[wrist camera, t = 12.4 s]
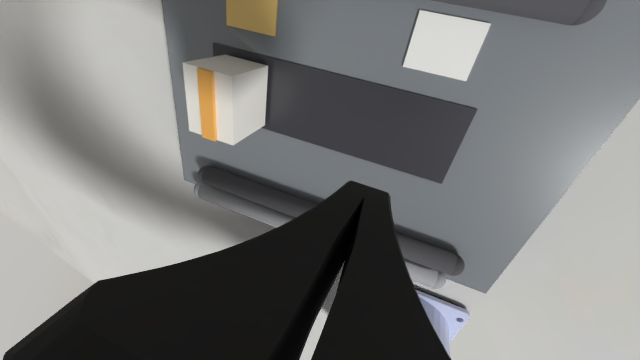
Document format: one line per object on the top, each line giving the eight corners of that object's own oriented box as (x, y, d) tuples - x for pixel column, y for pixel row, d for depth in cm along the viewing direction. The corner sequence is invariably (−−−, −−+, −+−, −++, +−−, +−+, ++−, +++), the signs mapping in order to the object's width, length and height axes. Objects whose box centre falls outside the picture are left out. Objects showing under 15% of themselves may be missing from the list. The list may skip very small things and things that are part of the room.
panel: (481, 271, 20) (485, 295, 19) (200, 169, 25) (183, 180, 23) (709, -43, 10) (763, -54, 9) (176, -110, 15) (143, -126, 14)
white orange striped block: (264, 125, 18) (230, 146, 15) (226, 113, 18) (186, 132, 15) (268, 65, 16) (229, 77, 13) (225, 54, 16) (179, 63, 13)
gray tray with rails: (448, 282, 19) (448, 299, 18) (197, 187, 23) (185, 196, 22) (637, -10, 10) (663, -13, 9) (171, -81, 14) (148, -90, 13)
